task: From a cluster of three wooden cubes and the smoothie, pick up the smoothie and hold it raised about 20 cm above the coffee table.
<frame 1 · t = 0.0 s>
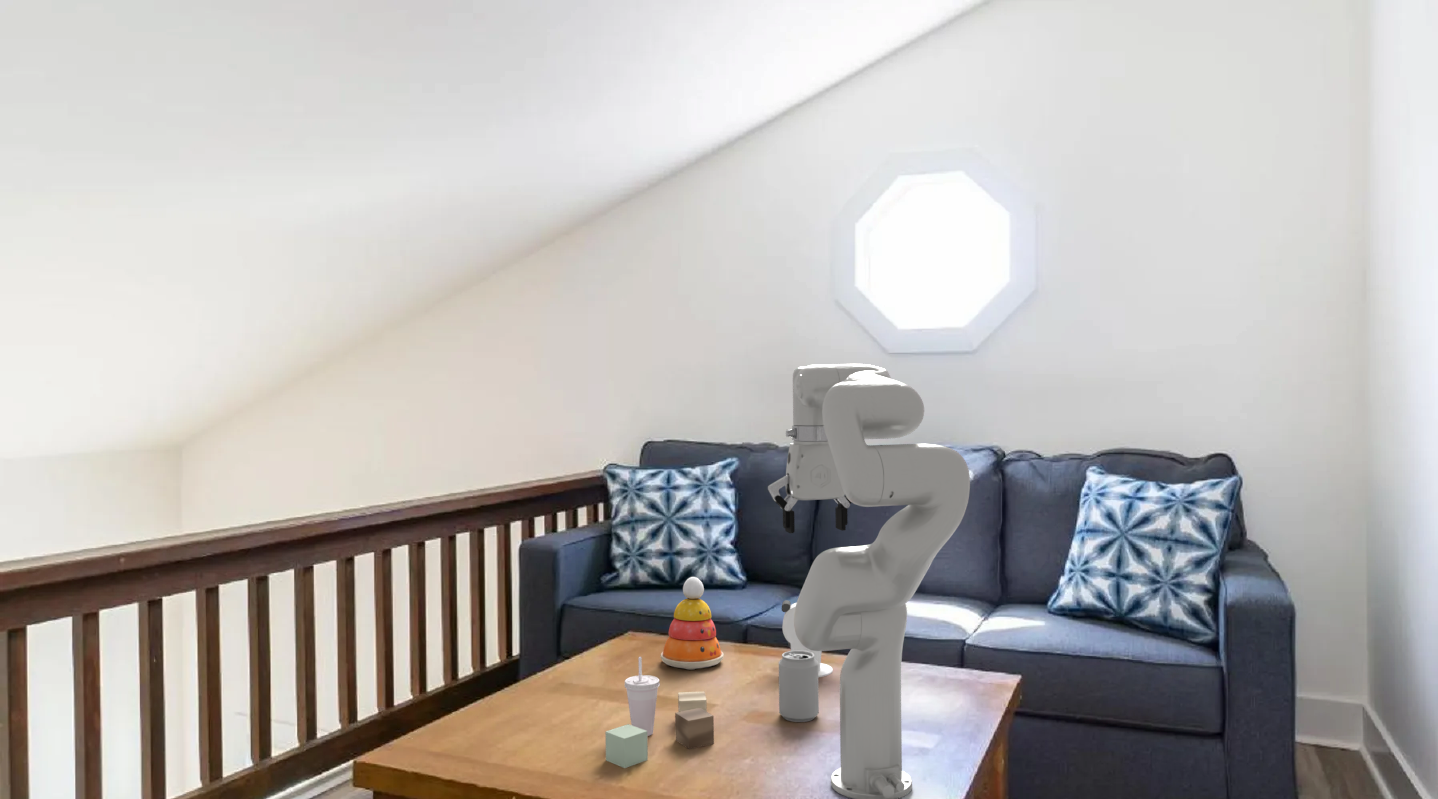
hand: (815, 530, 181), 37 cm above the table, tool pointing down, fingers open, 9 cm apart
sage painted cube: (626, 760, 171), on the table
maple cube: (692, 722, 189), on the table
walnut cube: (694, 742, 179), on the table
smoothie: (642, 734, 184), on the table
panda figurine: (808, 671, 222), on the table
can: (798, 717, 192), on the table
stacking toy: (692, 664, 228), on the table
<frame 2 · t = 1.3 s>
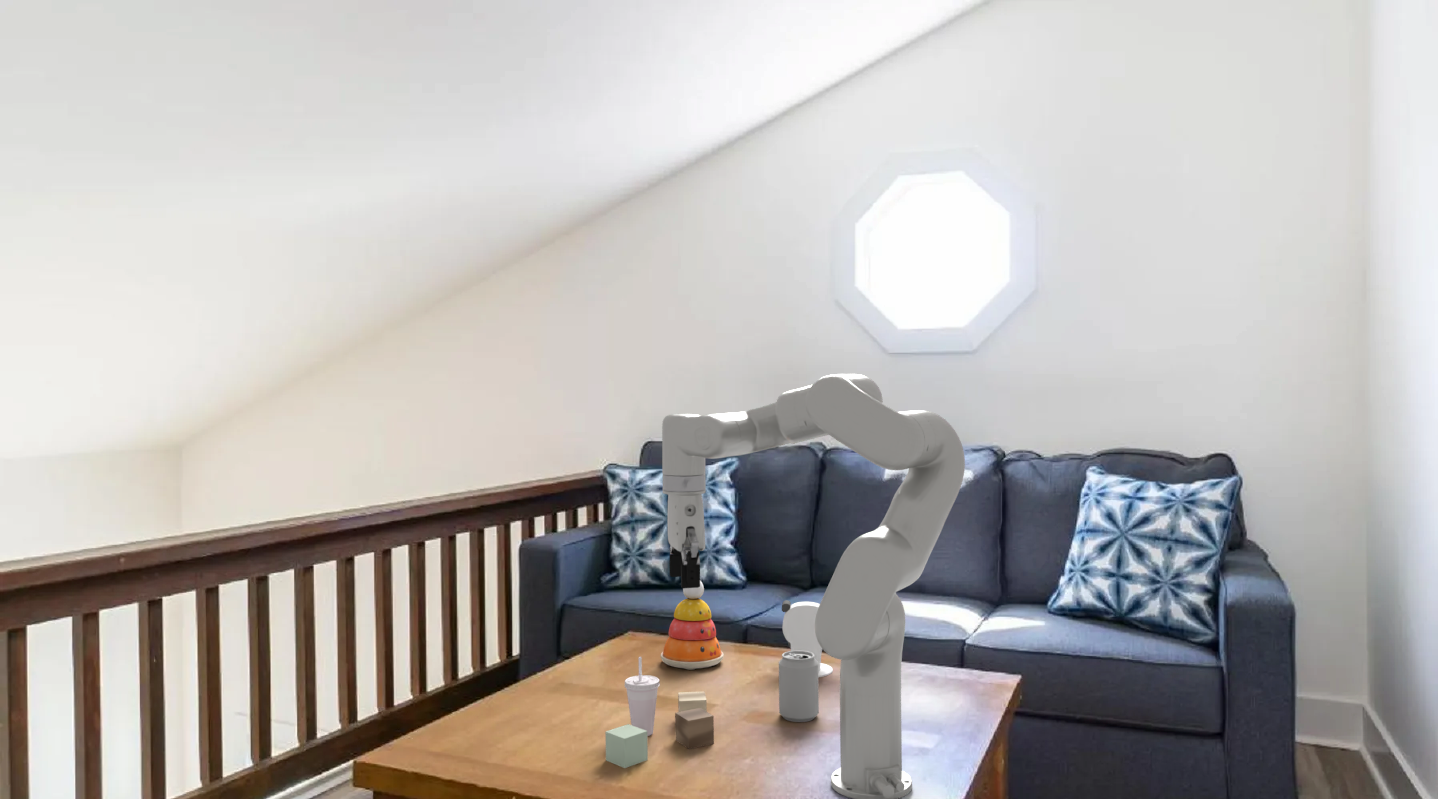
hand: (684, 581, 177), 29 cm above the table, tool pointing down, fingers open, 9 cm apart
nothing on the table moved.
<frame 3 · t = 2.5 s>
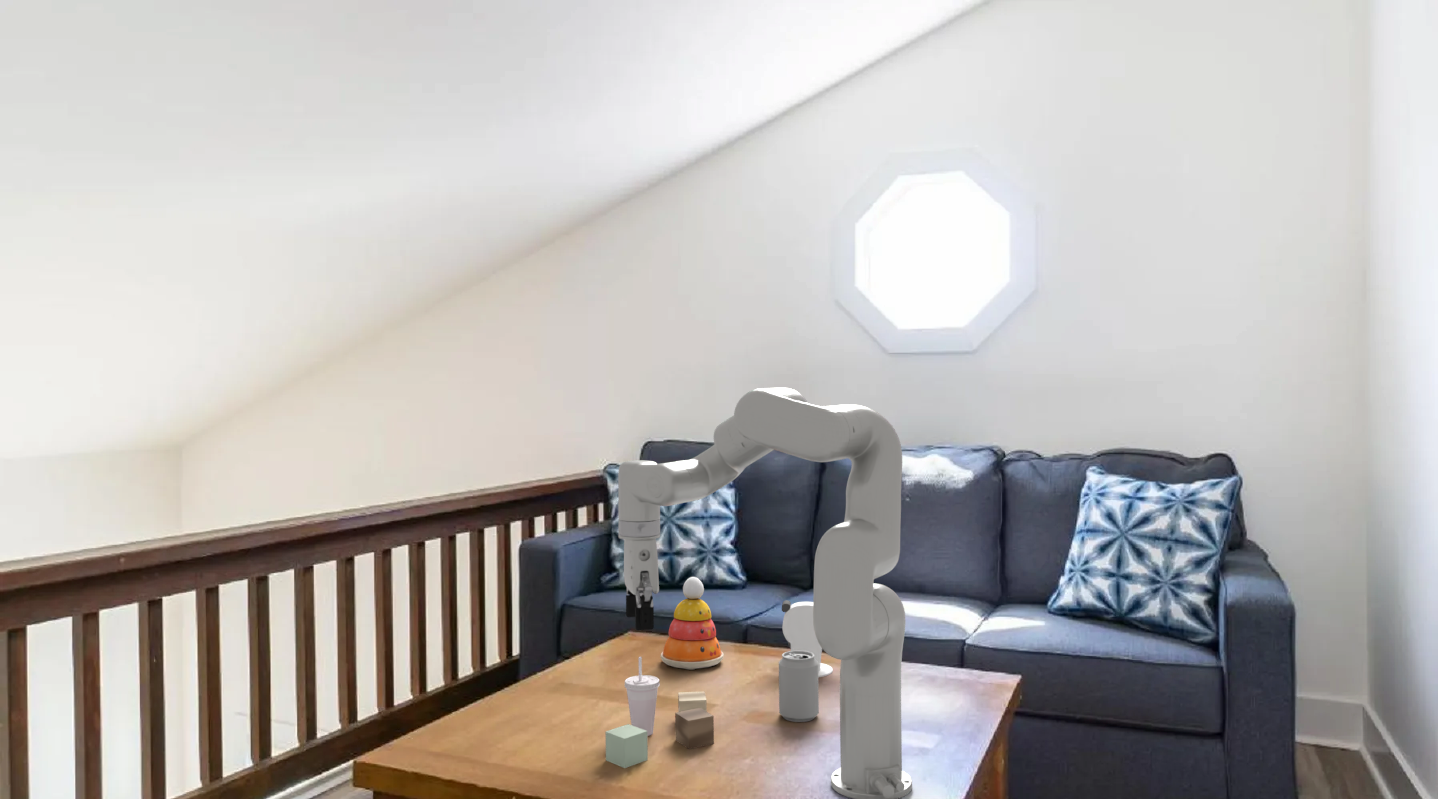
hand: (639, 622, 184), 20 cm above the table, tool pointing down, fingers open, 9 cm apart
nothing on the table moved.
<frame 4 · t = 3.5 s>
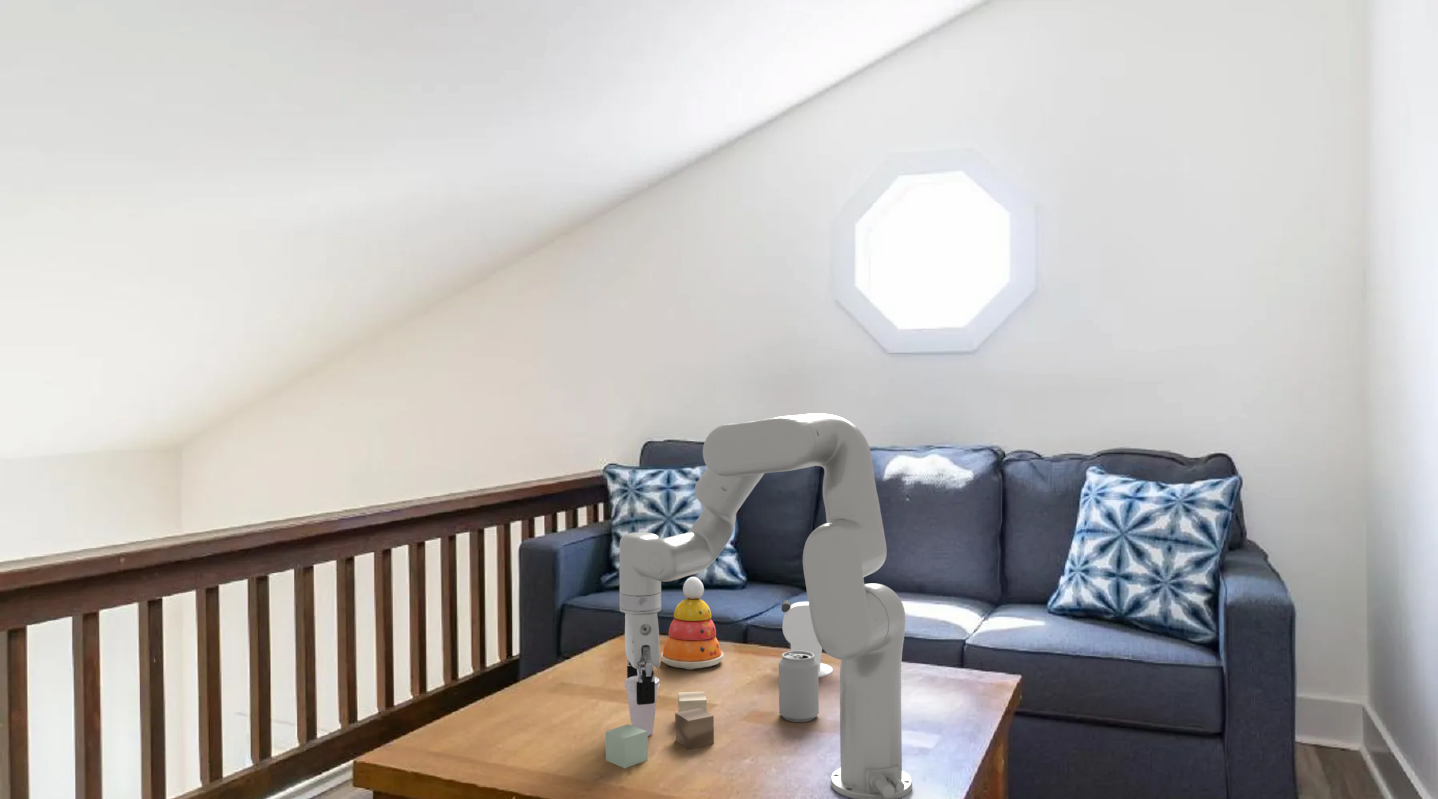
hand: (640, 695, 184), 7 cm above the table, tool pointing down, fingers open, 9 cm apart
nothing on the table moved.
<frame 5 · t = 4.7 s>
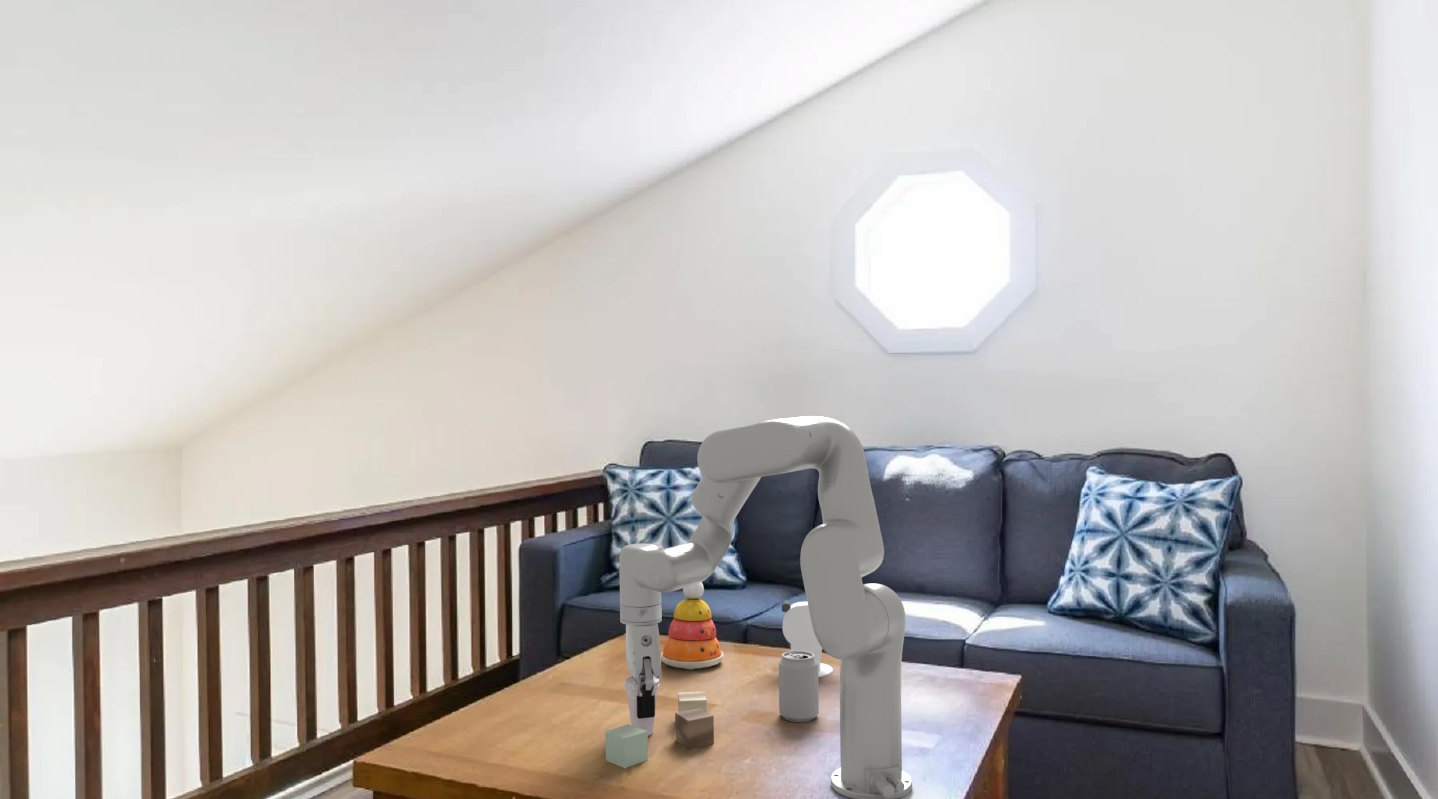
hand: (642, 710, 184), 4 cm above the table, tool pointing down, fingers closed on smoothie, 6 cm apart
smoothie: (642, 734, 184), on the table, touching gripper
everything else where it was.
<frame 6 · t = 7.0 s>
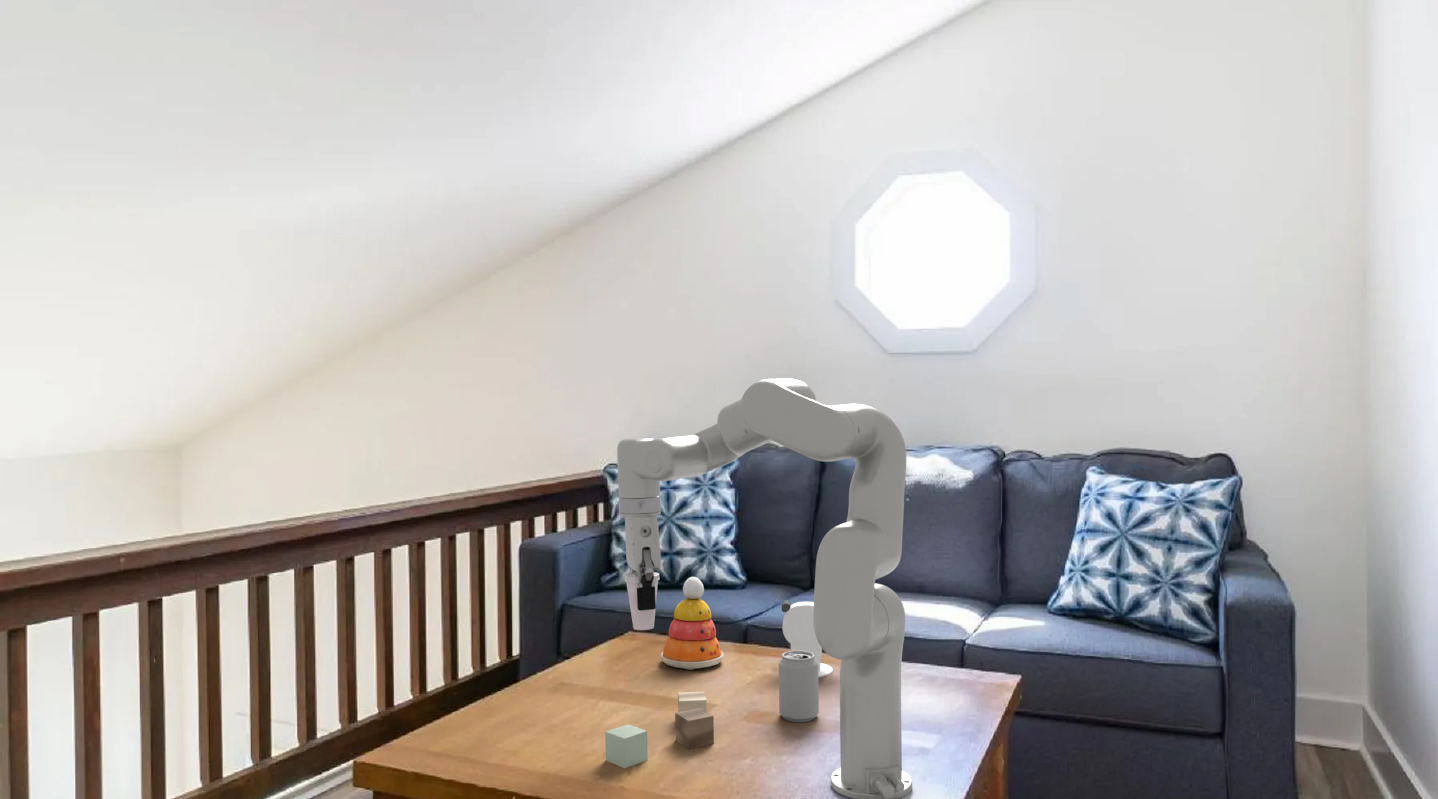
hand: (643, 604, 183), 23 cm above the table, tool pointing down, fingers closed on smoothie, 6 cm apart
smoothie: (643, 628, 183), point 19 cm above the table, touching gripper
everything else where it was.
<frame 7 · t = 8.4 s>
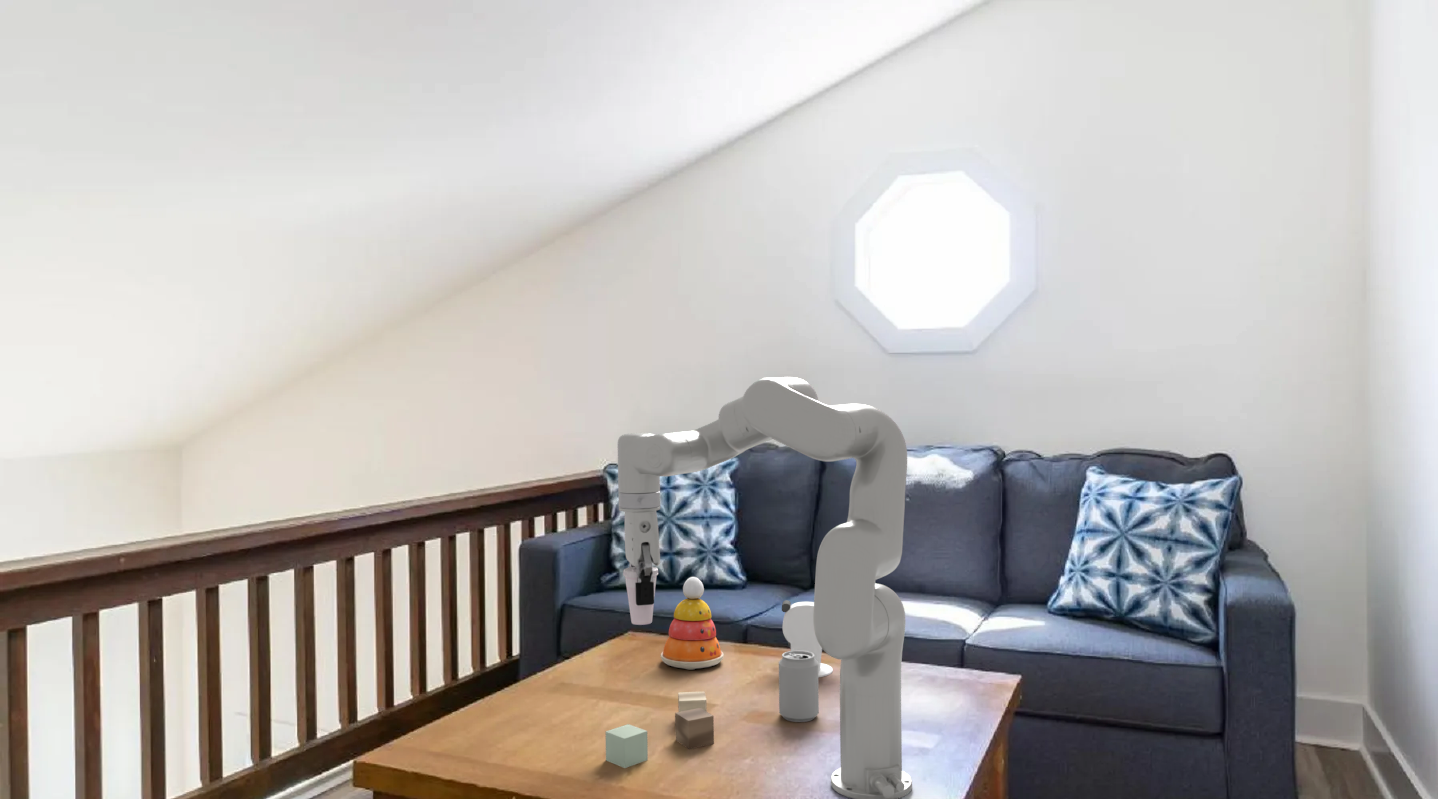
hand: (641, 599, 183), 24 cm above the table, tool pointing down, fingers closed on smoothie, 6 cm apart
smoothie: (641, 623, 183), point 20 cm above the table, touching gripper
everything else where it was.
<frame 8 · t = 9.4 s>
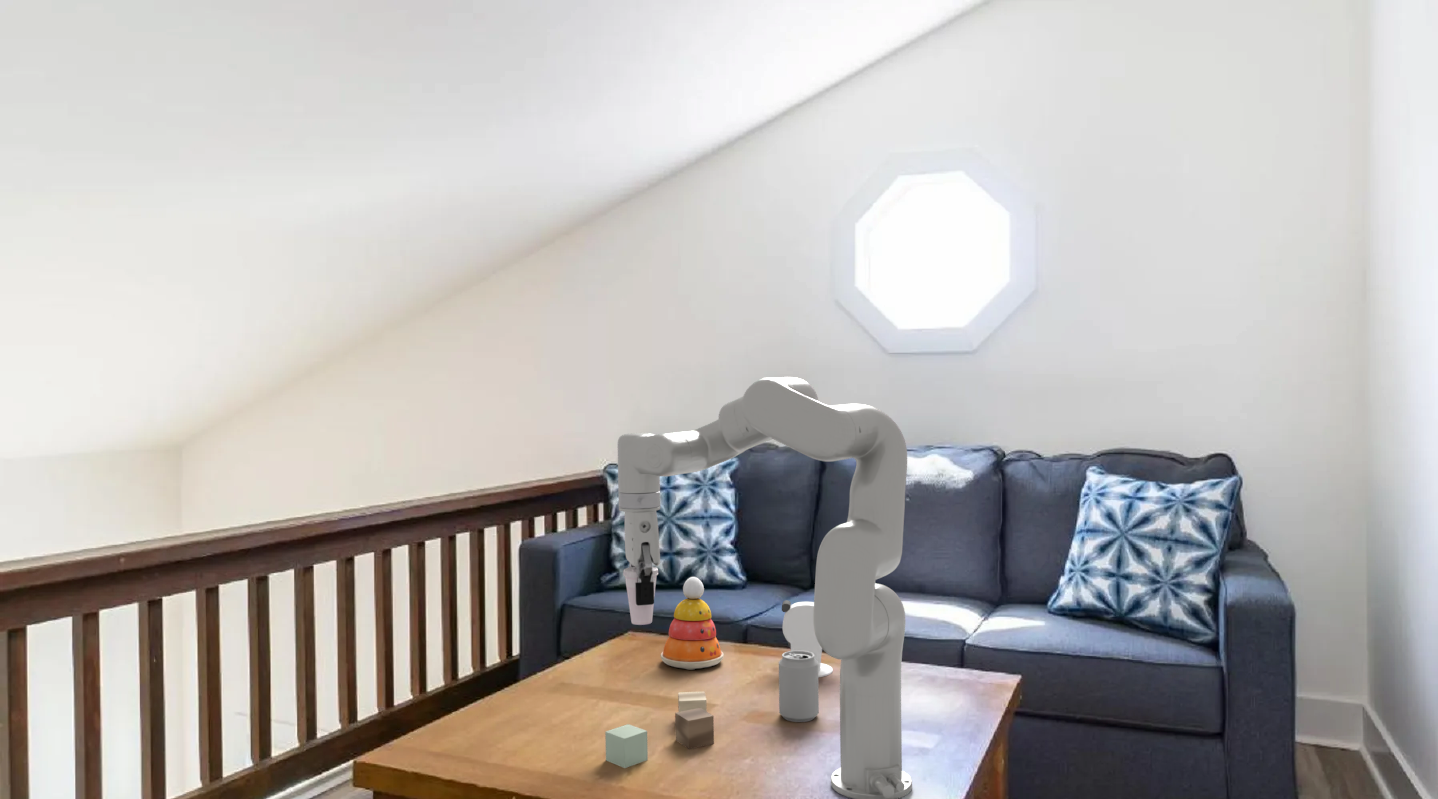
hand: (641, 599, 183), 24 cm above the table, tool pointing down, fingers closed on smoothie, 6 cm apart
smoothie: (641, 623, 183), point 20 cm above the table, touching gripper
everything else where it was.
at the end: the gripper is holding smoothie; smoothie point 20.0 cm above the table; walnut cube moved 0.1 cm from its start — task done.
